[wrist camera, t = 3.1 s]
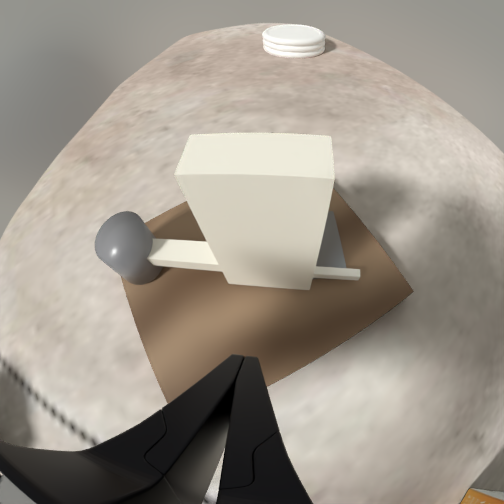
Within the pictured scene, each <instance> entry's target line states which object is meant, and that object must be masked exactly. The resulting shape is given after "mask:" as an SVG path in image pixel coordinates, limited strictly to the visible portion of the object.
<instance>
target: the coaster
mask: <svg viewBox="0 0 504 504" xmlns="http://www.w3.org/2000/svg"><path fill="white" fill-rule="evenodd" d="M262 37H263V43H264V45H263V48H264V50H265V51H266V52H268V53H269V54H271V55H274V56H278V57H284V58H310V57H315V56H318V55H320V54H322V53H323V52H324V50H325V46H324V45H325V34H324V33H323V32H322V31H321V30H319V29H317V28H314V27H311V26H305V25H296V24H286V25H277V26H273V27H270V28H267V29H266V30H265V31H263V33H262Z"/></svg>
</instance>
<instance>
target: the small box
mask: <svg viewBox="0 0 504 504" xmlns="http://www.w3.org/2000/svg"><path fill="white" fill-rule="evenodd" d="M460 504H504V492H500V491H489V490H482V489H474V488H470V489H469V490H468V492H467V493H466V495H465V497H464V499H463V500H462V502H461V503H460Z"/></svg>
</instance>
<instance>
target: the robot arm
mask: <svg viewBox="0 0 504 504" xmlns="http://www.w3.org/2000/svg"><path fill="white" fill-rule="evenodd" d="M224 448H225V452H224V458H223V465H222V471H221V478H220V484H219V491H218V497H217V502H216V504H313V503H312V501H311V499H310V497H309V496H308V494H307V492H306V490H305V488H304V486H303V485H302V483H301V481H300V479H299V477H298V475H297V473H296V471H295V470H294V468H293V465H292V463H291V461H290V459H289V457H288V454H287V452H286V449H285V446H284V443H283V440H282V437H281V434H280V432H279V427H278V424H277V421H276V417H275V414H274V411H273V407H272V404H271V400H270V397H269V394H268V390H267V387H266V383H265V380H264V376H263V373H262V369H261V366H260V362H259V359H258V357H253V356H246V357H245V356H244V355H238V354H232V355H230V356H229V357H228V358H227V359H225V360H224V361H223V362H222V363H220V364H219V365H218V366H217V367H215V368H214V369H213V370H212V371H210V372H209V373H208V374H207V375H205V376H204V377H203V378H201V379H200V380H199V381H198V382H196V383H195V384H194V385H192V386H191V387H190V388H188V389H187V390H186V391H185V392H183V393H182V394H181V395H179V396H178V397H177V398H175V399H174V400H172V401H171V402H170V403H168V404H167V405H166V406H164V407H163V408H162V410H159V411H157V412H156V413H154V414H153V415H152V416H150V417H149V418H147V419H146V420H144V421H143V422H141V423H139V424H138V425H136V426H134V427H132V428H131V429H129V430H127V431H125V432H123V433H121V434H119V435H117V436H115V437H113V438H111V439H109V440H107V441H105V442H103V443H101V444H99V445H97V446H94V447H92V448H89V449H86V450H82V451H55V450H44V449H35V448H27V447H20V446H15V445H12V444H9V443H6V442H4V441H2V440H1V439H0V472H1V473H2V474H3V475H1V474H0V504H202V502H203V499H204V497H205V495H206V492H207V490H208V487H209V485H210V483H211V480H212V478H213V475H214V473H215V471H216V468H217V466H218V463H219V461H220V458H221V456H222V453H223V451H224Z"/></svg>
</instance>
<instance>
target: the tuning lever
mask: <svg viewBox="0 0 504 504" xmlns="http://www.w3.org/2000/svg"><path fill="white" fill-rule="evenodd" d="M174 176H175V178H176V180H177V182H178V184H179V186H180V188H181V190H182V192H183V194H184V196H185V198H186V200H187V203H188V205H189V207H190V209H191V211H192V213H193V215H194V217H195V219H196V221H197V223H198V225H199V227H200V229H201V231H202V233H203V235H204V237H205V239H206V241H207V242H205V241H188V240H171V239H156V237H155V236H154V235H153V233H152V232H151V231H150V230H149V228H148V227H147V226H146V224H145V223H144V222H143V220H142V219H141V218H140V216H138V215H137V214H136V213H134V212H129V211H125V212H120V213H117V214H115V215H113V216H112V217H110V218H109V219H108V220H107V221H106V222H105V223H104V224H103V225H102V226H101V228H100V230H99V231H98V234H97V236H96V240H95V251H96V254H97V256H98V257H99V258H100V259H101V260H102V261H103V262H104V263H105V264H107V265H108V266H109V267H110V268H112V269H113V270H114V271H115V272H117V273H118V274H119V275H120V276H122V277H123V278H124V279H125V280H127V281H128V282H130V283H132V284H135V285H143V284H146V283H149V282H151V281H152V280H154V279H155V278H156V277H157V276H158V275H159V273H160V272H161V270H162V268H163V266H167V267H177V268H188V269H198V270H210V271H221V272H223V274H224V276H225V278H226V280H227V282H228V284H237V285H249V286H261V287H273V288H286V289H300V290H310V287H311V283H312V279H313V278H326V279H342V280H359V278H360V269H350V268H334V267H319V266H316V263H317V259H318V255H319V250H320V246H321V242H322V237H323V233H324V229H325V224H326V219H327V215H328V210H329V205H330V200H331V195H332V190H333V185H334V180H335V177H334V163H333V151H332V141H331V136H323V135H308V134H288V133H217V134H196V135H190V137H189V139H188V141H187V144H186V146H185V149H184V151H183V154H182V156H181V159H180V161H179V164H178V166H177V169H176V172H175V174H174Z"/></svg>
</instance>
